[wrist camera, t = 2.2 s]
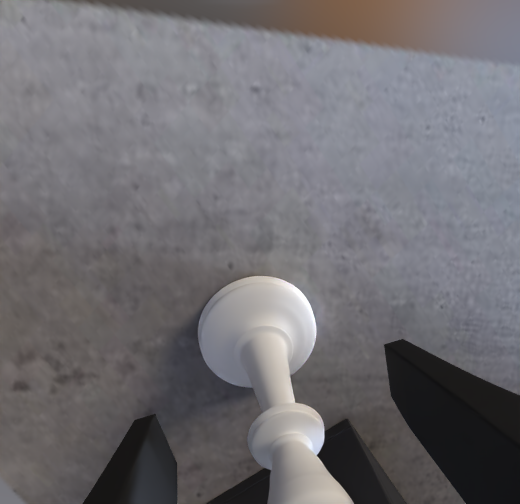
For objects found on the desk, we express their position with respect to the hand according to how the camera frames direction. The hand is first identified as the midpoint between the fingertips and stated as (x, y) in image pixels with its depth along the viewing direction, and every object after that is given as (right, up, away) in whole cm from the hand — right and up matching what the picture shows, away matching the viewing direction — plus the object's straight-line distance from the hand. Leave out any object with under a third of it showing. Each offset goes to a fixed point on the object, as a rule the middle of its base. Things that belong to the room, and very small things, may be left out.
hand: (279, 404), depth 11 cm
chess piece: (-1, +1, +4) cm, 5 cm away
